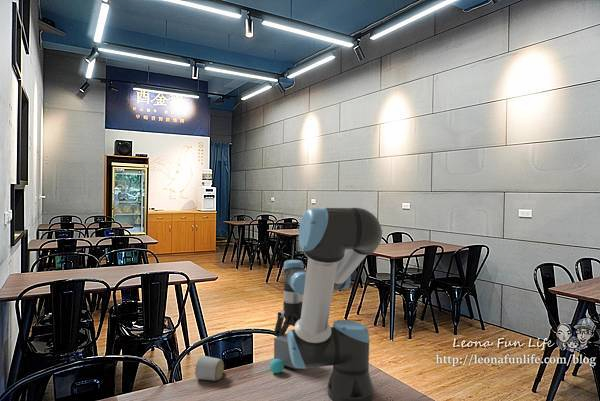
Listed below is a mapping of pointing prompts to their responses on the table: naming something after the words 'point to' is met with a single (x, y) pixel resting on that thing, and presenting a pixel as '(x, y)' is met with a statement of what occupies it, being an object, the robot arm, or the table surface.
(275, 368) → the ball
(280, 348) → the grey cube
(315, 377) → the table surface
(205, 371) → the ceramic mug
